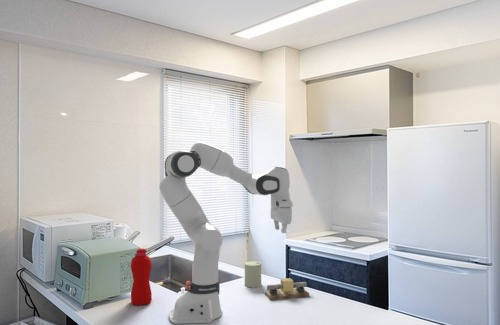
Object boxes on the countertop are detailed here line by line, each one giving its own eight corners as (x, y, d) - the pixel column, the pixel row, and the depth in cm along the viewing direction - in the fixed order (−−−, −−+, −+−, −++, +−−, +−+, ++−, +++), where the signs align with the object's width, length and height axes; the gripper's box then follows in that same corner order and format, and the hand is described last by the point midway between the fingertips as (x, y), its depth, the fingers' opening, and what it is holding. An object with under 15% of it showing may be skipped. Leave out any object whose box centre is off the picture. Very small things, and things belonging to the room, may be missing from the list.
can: (261, 287, 201) (261, 264, 201) (244, 287, 201) (244, 264, 201) (261, 282, 210) (261, 260, 210) (244, 282, 210) (244, 260, 210)
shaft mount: (270, 300, 182) (270, 288, 182) (264, 294, 191) (264, 282, 191) (309, 296, 187) (309, 284, 187) (302, 290, 196) (302, 279, 196)
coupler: (283, 293, 186) (283, 281, 186) (280, 290, 190) (280, 278, 190) (293, 293, 187) (293, 280, 187) (290, 290, 192) (290, 278, 192)
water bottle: (127, 300, 182) (126, 247, 182) (150, 298, 186) (150, 246, 186) (127, 307, 173) (127, 252, 173) (152, 304, 177) (152, 250, 177)
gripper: (267, 199, 189) (267, 227, 189) (280, 203, 169) (280, 235, 169) (279, 199, 191) (279, 227, 191) (294, 203, 171) (294, 234, 171)
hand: (280, 231), depth 180 cm, fingers open, 8 cm apart
